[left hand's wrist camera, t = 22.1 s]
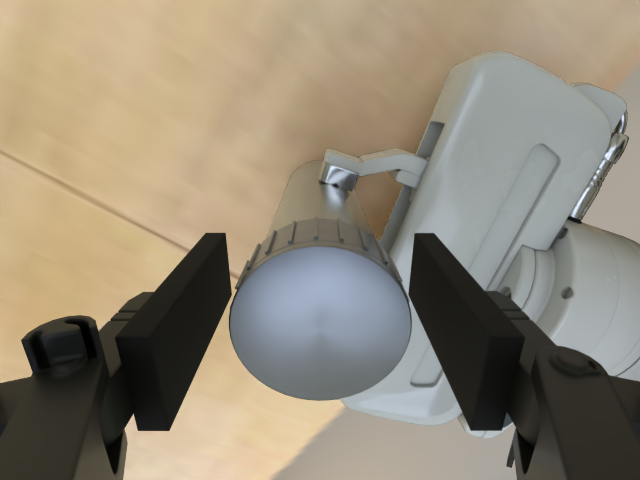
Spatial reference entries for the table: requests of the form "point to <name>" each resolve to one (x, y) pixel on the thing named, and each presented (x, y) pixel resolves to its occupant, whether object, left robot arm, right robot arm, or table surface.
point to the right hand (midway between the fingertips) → (304, 219)
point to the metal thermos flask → (317, 201)
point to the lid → (320, 311)
